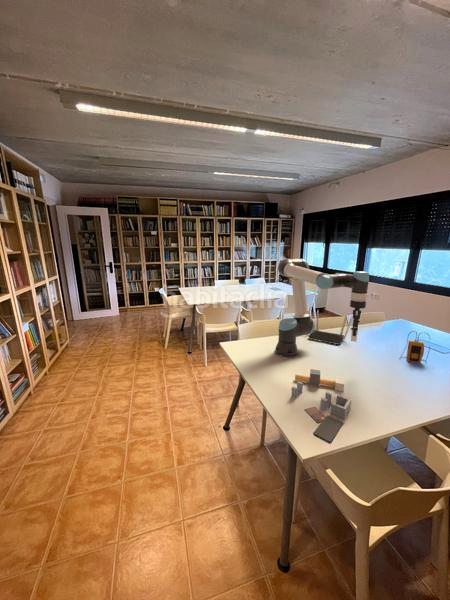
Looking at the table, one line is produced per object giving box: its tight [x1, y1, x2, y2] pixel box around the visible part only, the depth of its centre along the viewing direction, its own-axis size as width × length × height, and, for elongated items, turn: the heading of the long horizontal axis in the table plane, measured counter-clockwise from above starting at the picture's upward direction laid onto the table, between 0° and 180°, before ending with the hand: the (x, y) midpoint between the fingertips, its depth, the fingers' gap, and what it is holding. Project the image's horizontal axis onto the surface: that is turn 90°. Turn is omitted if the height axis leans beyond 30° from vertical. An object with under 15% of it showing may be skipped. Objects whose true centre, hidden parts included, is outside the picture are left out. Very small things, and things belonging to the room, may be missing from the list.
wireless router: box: [307, 309, 353, 345], centre depth 195 cm, size 34×23×20 cm
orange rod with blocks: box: [294, 368, 345, 392], centre depth 130 cm, size 24×5×7 cm, turn 69°
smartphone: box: [312, 414, 344, 444], centre depth 99 cm, size 7×1×15 cm
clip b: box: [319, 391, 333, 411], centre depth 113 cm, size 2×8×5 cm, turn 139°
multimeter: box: [399, 330, 431, 364], centre depth 158 cm, size 15×10×20 cm
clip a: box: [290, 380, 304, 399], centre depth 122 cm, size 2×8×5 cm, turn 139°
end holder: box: [329, 394, 352, 420], centre depth 109 cm, size 6×9×5 cm, turn 139°
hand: (353, 337), depth 138 cm, fingers open, 13 cm apart
